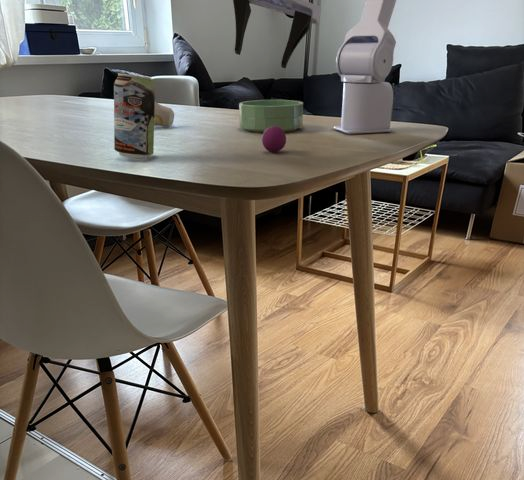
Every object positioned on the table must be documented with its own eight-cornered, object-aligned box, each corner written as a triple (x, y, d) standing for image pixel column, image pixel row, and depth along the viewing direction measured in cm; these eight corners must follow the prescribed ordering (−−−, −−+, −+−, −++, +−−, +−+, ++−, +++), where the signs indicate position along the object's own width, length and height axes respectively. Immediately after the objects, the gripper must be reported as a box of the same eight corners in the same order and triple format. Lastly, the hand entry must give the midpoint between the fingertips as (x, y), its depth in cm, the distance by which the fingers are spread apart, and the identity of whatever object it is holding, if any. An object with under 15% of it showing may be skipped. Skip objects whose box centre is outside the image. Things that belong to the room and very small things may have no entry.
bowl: (291, 123, 115) (291, 98, 112) (311, 131, 104) (312, 104, 101) (234, 126, 112) (233, 101, 109) (248, 135, 101) (247, 107, 99)
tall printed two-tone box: (108, 158, 82) (95, 73, 75) (147, 152, 86) (138, 71, 80) (130, 163, 78) (117, 74, 71) (169, 157, 82) (161, 72, 76)
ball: (281, 149, 87) (282, 124, 85) (289, 153, 84) (289, 127, 82) (259, 150, 86) (259, 125, 84) (265, 155, 83) (265, 128, 81)
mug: (180, 129, 110) (153, 85, 103) (142, 150, 112) (113, 109, 105) (180, 116, 115) (154, 73, 108) (144, 136, 117) (117, 96, 111)
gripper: (235, -64, 74) (212, 37, 77) (331, -35, 74) (304, 64, 78) (240, -40, 81) (219, 52, 84) (328, -14, 81) (303, 77, 84)
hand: (260, 59), depth 81 cm, fingers open, 7 cm apart
